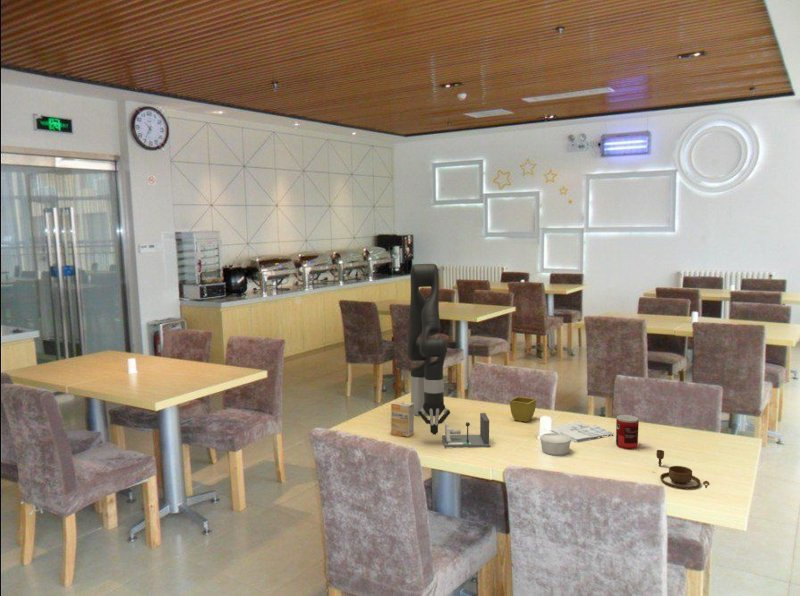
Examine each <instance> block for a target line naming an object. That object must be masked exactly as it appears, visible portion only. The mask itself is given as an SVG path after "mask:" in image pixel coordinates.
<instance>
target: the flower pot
mask: <svg viewBox="0 0 800 596" xmlns="http://www.w3.org/2000/svg"><path fill="white" fill-rule="evenodd" d="M536 406H537V398H531V397H524V396H516V397H514V398H512V399H510V400H509V407H510V413H511V415H512V418H513V419H514V421H516V420H518V421H517V422H522V421H524V423H526V421H527V422H529V421H530V420H532V418H533V417H534V415H535V412H536ZM528 420H529V421H528Z"/></svg>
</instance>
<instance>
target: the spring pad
mask: <svg viewBox="0 0 800 596" xmlns="http://www.w3.org/2000/svg"><path fill="white" fill-rule="evenodd" d="M444 435H445V437H446V440H447V442H449V443H451V439H450V435H462V433H461V429H451V427H450V425H449V422H446V421H444Z"/></svg>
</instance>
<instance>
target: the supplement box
mask: <svg viewBox="0 0 800 596" xmlns="http://www.w3.org/2000/svg"><path fill="white" fill-rule="evenodd" d="M390 406H391V407H390V424H391V425H390V428H391V430H390V432H391V434H392V436H397V435H401V436H400V437H404V436H406V437H405V438H410V437H412V436H414V432H415V427H414V425H415V419H414V418H415V417H414V416H415V415H414V403H411V402H405V401H401V400H395V401H393V402H391V403H390ZM391 434H390V435H391ZM411 435H412V436H411Z"/></svg>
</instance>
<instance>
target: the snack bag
mask: <svg viewBox="0 0 800 596" xmlns="http://www.w3.org/2000/svg"><path fill="white" fill-rule="evenodd" d="M551 426H552V431H551V433H557V434H563V435H567V436H569V437H570V438H571V442H573V443H580V442H585V441H590V440H589V439H591V440H595V439H594V438H597V439H599V438H598V437H602V436H607V435H612V436H613V435H614V432H612V431H610V430H607V429H605V428H603V427H600V426H598V425H597V424H595V425H592V426H589V425H587V424H585V423H583V422H581V421H577V422H570V423H563V424H559V425H551ZM602 438H603V437H602Z"/></svg>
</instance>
